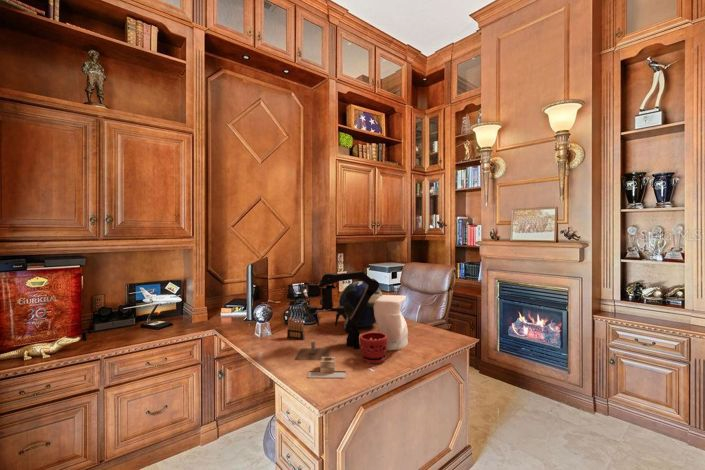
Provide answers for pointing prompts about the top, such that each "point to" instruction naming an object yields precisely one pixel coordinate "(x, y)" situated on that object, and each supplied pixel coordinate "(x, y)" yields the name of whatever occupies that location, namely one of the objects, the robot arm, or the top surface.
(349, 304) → the globe
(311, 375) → the mat
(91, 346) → the top surface
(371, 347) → the plant pot
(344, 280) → the robot arm
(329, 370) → the collar
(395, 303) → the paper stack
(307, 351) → the post stand
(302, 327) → the ammunition clip
